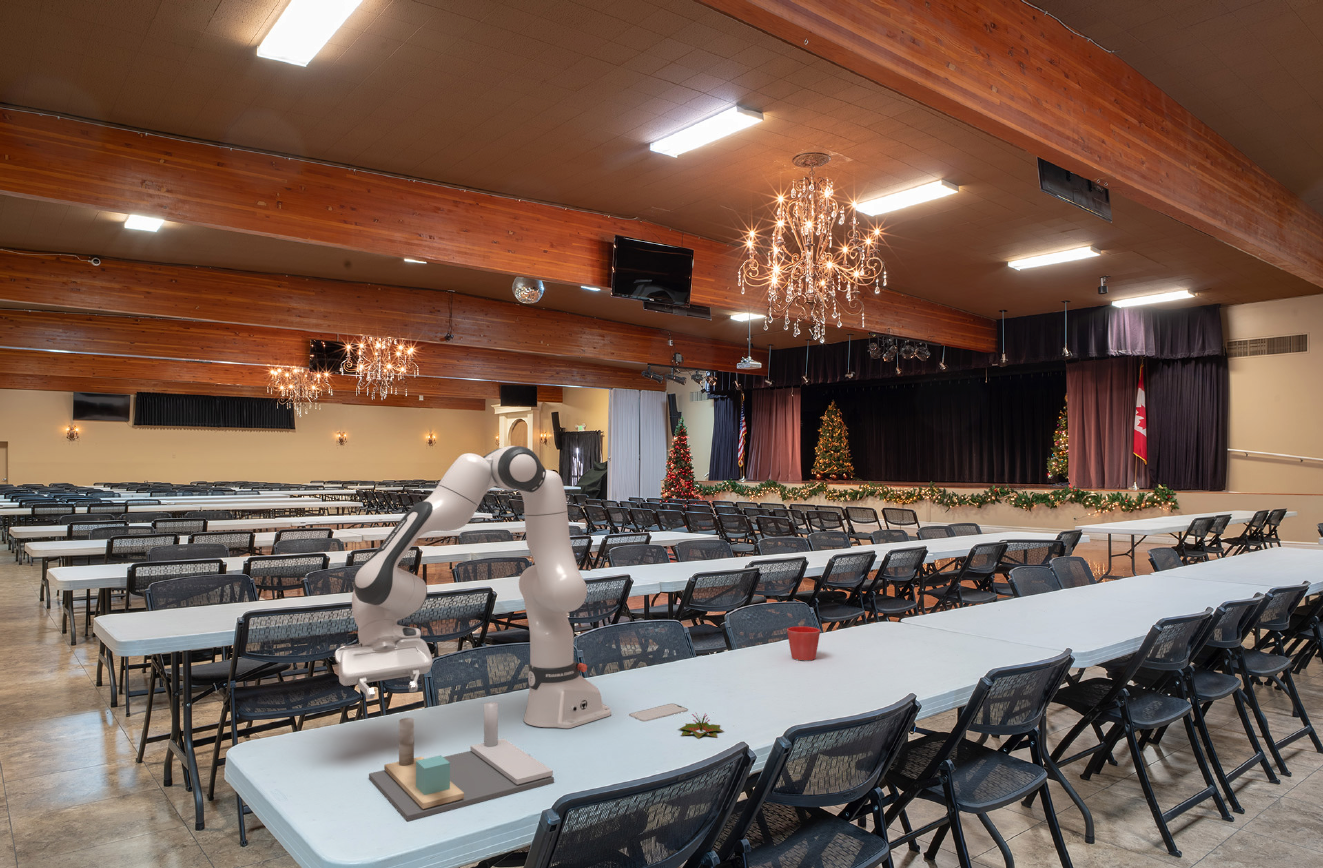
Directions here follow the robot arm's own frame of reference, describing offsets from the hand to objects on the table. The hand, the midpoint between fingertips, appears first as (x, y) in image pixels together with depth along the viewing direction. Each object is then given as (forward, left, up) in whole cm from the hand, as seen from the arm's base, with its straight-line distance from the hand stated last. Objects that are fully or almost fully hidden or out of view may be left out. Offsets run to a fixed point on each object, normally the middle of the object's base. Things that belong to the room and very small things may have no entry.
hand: (392, 693), depth 176 cm
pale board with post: (-19, +19, -13) cm, 30 cm away
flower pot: (-140, -12, -15) cm, 141 cm away
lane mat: (-8, +19, -15) cm, 26 cm away
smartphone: (-67, +7, -15) cm, 69 cm away
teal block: (0, +25, -12) cm, 28 cm away
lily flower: (-67, +25, -15) cm, 73 cm away
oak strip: (0, +19, -13) cm, 24 cm away
